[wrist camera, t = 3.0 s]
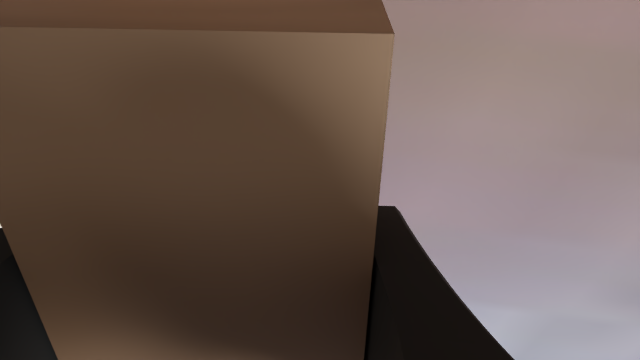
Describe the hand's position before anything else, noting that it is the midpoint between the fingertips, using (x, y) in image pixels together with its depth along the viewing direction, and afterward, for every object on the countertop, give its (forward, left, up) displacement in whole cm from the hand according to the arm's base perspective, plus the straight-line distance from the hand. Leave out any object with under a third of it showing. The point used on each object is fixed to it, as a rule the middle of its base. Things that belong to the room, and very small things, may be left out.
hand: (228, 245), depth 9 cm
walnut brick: (0, 0, -2) cm, 2 cm away
